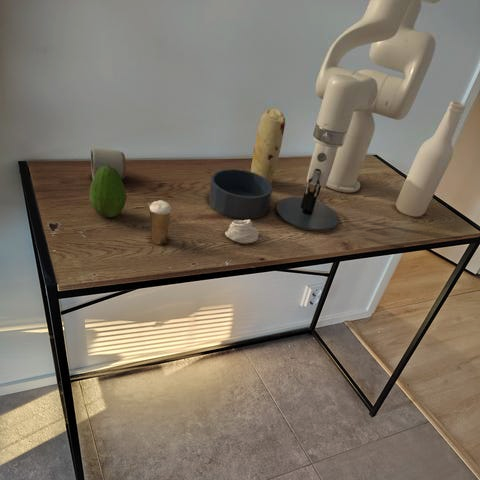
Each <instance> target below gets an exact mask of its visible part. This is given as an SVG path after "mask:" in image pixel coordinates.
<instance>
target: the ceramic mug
mask: <svg viewBox="0 0 480 480" xmlns="http://www.w3.org/2000/svg"><path fill="white" fill-rule="evenodd" d="M90 164H91V165H90V166H91V167H90V168H91V175H92V176H91V177H92V179H93V178H94V176H95V174H96V172H97V170H98V169H99V168H100V167H101V166H104V165H109V166H111V167H113V168H114V169H116V171H117V172H118V173H119V175H120V177H121V180H122V181H123V180H124V179H125V178H126V173H127V163H126V156H125V153H124V152H122V151H120V150H116V149H104V148H97V147H91V149H90Z"/></svg>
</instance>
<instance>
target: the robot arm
mask: <svg viewBox="0 0 480 480" xmlns="http://www.w3.org/2000/svg"><path fill="white" fill-rule="evenodd" d="M440 1H441V0H369V1H368V4H367V7H366V10H365V12H364V14H363V16H362V18H361V19H360V20H359V21H357V22H356V23H354V24H352V25H351V26H350V27H348V28H347V29H345V30H344V31H343V32H342V33H341V34H340V35H338V37H337V38H336V39H335V40H334V42H333V43H332V44H331V45H330V47H329V49H328V51H327V53H326V55H325V58H324V60H323V62H322V65H321V68H320V70H319V72H318V75H317V78H316V83H315V94H316V95H317V97H318V98H320V99H321V100H322V101H321V105H320V108H319V112H318V116H317V119H316V123H315V125H314V130H313V133H312V137H311V138H312V140H313V141H314V142H315V145H314V149H313V152H312V156H311V159H310V163H309V168H308V172H307V177H306V184H307V187H306V189H305V192H304V194H303V200H302V203H301V208H302V209H305V210H308V211H313V208H314V205H315V202H316V201H317V200H316V199H318V197H319V195H320V193H321V189H324V188H326V187H327V188H329V189H331V190H334V191H336V192H340V193H356V192H358V191H359V190H360V188H361V183H360V181H359V180H358V179H359V176H360V173H361V170H362V167H363V164H364V162H365V159H366V156H367V153H368V151H369V148H370V145H371V142H372V139H373V137H374V134H375V130H376V124H375V119H374V115H373V114H377V115H379V116H382V117H385V118H389V119H392V120H396V121H397V120H398V121H399V120H404V118H406V117H407V116H408V114H409V112H410V111H411V109H412V107H413V105H414V102H415V100H416V98H417V96H418V93H419V91H420V89H421V86H422V84H423V82H424V79H425V77H426V75H427V73H428V70H429V68H430V66H431V62H432V60H433V57H434V54H435V50H436V46H437V45H436V44H437V43H436V39H435V37H434V35H432V34H431V33H429V32H426V31H423V30H418V29H414V28H415V25H416V21H417V20H418V17H419V15H420V12H421V10H422V2H423V3H428V4H437V3H439V2H440ZM370 44H371V45H370ZM365 45H366V46H367V45H370V48H369V54H368V56H369V60H370V61H371V62H372V63H373V64H374V65H377V66H379V67H382V68H385V69H388V70H392V71H395V72H399V73H402V74H404V76H405V77H404V78H402V77H399V76H395V75H392V74H389V73H386V72H382V71H379V70H375V69H370V68H364V69H360V70H359V71H358V70H357V71H356V70H352V69H349V68H346V67H342V66H339V64H340V62H341V60H343V58H344V57H345V56H346V55H347V54H348V53H349V52H351V51H352V50H355V49H357V48H359V47H363V46H365Z"/></svg>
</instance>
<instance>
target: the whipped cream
mask: <svg viewBox="0 0 480 480" xmlns="http://www.w3.org/2000/svg"><path fill="white" fill-rule="evenodd" d="M224 235H225V237H227V238H229V239H230V240H231V241H233V242H236V243H239V244H245V245H247V244H252V243H254V242H256V241H257V240H258V238H259V230H258V228H257V227H254V226H253V222H252V219H240V220H239V219H238V220H237V219H235V220H232V222H231V223H230V224H229V227H228V228H227V230H226V231H225V232H224Z"/></svg>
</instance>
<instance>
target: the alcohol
mask: <svg viewBox="0 0 480 480" xmlns="http://www.w3.org/2000/svg"><path fill="white" fill-rule="evenodd" d="M466 108H467V106H466V104H464V103H462V102H460V101H456V100H451V101H450V102H449V105H448V106H447V110H446V112H445V113H444V115H443V117H442V119H441V121H440V123H439V125H438V127H437V128H436V130H435V132H434V133H433V135H432V136H431V137H430V138H427V139H426V140H425V141H424V142H422V144H421V146H420V147H419V148H418V150H417V153H416V155H415V157H414V159H413V162H412V165H411V167H410V169H409V172H408V175H407V176H406V179H405V181H404V182H403V184H402V188H401V190H400V192H399V195H398V196H397V199H396V201H395V207H396V209H397V210H398V211H399V212H400V213H402V214H404V215H406V216H410V217H416V218H418V217H421V216H423V215H425V213H426V211H427V210H428V207H429V205H430V203H431V201H432V199H433V197H434V195H435V193H436V191H437V189H438V187H439V185H440V183H441V181H442V178H443V177H444V175H445V173H446V170H447V169H448V166H449V165H450V163H451V160H452V158H453V154H454V148H453V143H452V141H453V137H454V135H455V133H456V130H457V128H458V125H459V123H460V120H461V119H462V115H463V114H464V112H465V109H466Z"/></svg>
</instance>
